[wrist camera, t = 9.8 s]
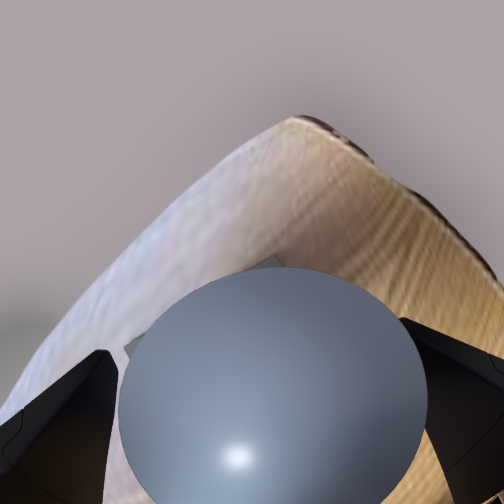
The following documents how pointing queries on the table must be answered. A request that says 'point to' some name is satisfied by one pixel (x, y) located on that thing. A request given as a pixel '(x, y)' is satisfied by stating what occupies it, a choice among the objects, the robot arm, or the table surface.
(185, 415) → the blue-grey rounded knob
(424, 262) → the table surface
